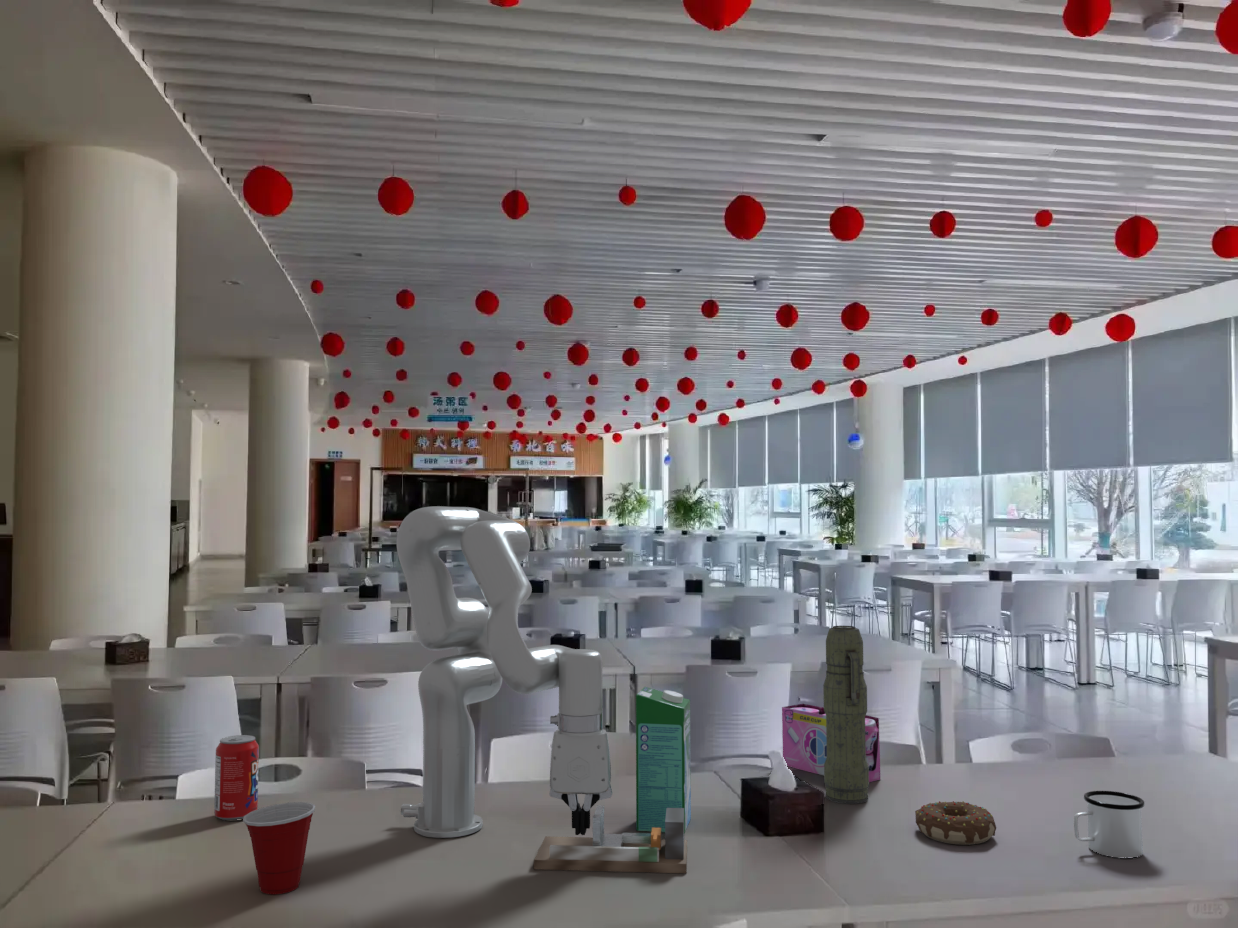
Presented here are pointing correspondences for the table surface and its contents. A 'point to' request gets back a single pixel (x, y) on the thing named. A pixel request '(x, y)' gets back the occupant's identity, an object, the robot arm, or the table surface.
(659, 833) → the pointer
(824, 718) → the gum box
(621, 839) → the plunger
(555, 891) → the table surface
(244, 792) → the soda can
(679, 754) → the milk carton
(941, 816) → the donut
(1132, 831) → the mug
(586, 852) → the base
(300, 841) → the plastic cup
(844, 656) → the thermos
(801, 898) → the table surface
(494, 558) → the robot arm
